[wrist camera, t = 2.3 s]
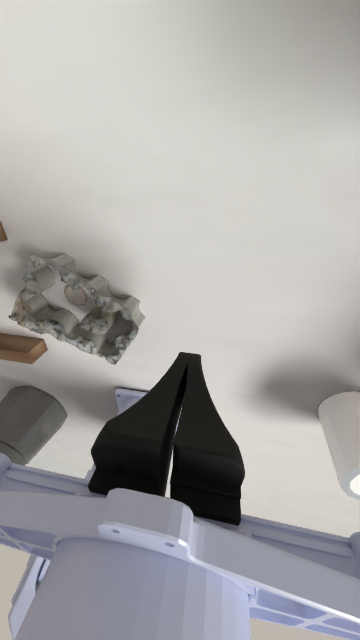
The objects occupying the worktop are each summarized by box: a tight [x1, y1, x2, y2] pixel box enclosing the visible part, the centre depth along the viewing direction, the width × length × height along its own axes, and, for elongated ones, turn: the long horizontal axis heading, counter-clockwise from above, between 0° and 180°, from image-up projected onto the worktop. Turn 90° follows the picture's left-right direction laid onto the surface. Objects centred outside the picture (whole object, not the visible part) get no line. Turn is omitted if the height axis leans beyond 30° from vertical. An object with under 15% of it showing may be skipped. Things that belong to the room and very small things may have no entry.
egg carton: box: [9, 253, 145, 365], centre depth 20 cm, size 11×8×4 cm
